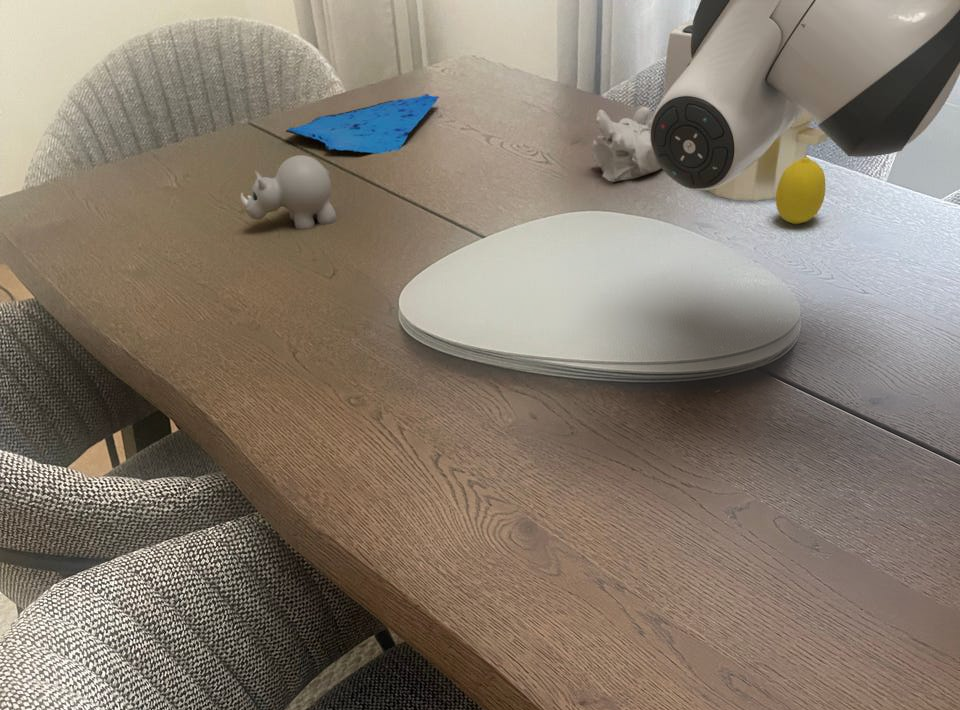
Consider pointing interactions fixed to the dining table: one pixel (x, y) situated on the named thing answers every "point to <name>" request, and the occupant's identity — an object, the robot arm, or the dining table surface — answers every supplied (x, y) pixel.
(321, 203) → the chubby cartoon animal
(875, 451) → the dining table surface
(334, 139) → the shard
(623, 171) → the figurine
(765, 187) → the pot
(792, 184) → the lemon
